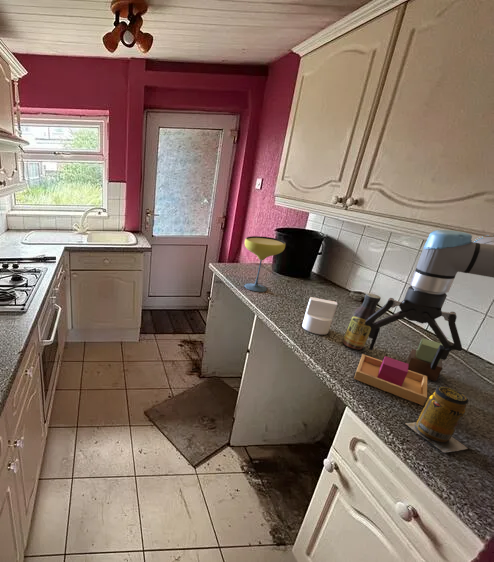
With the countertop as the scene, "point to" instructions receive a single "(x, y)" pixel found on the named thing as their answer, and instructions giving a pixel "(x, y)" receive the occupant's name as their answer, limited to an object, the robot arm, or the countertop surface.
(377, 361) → the oak tray
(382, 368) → the mulberry block
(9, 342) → the countertop surface
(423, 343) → the sage block
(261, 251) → the cocktail glass
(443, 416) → the condiment
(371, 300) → the sauce bottle
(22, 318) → the countertop surface
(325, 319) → the base with upright slab
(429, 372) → the walnut block
